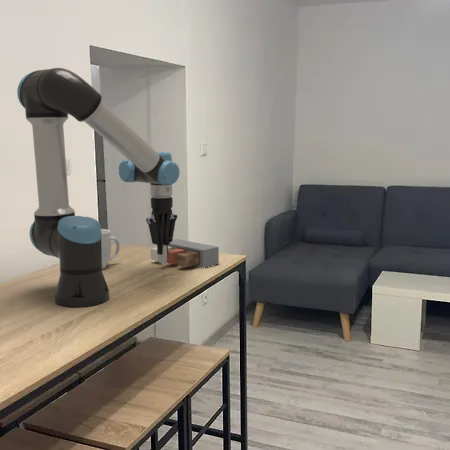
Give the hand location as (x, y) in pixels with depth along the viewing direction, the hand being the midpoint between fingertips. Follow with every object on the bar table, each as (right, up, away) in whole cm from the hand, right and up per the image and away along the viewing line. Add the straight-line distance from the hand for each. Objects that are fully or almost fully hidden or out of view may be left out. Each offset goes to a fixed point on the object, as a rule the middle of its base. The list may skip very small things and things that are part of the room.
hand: (162, 262), depth 196 cm
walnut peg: (+10, -1, +1) cm, 10 cm away
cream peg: (-1, +1, +10) cm, 10 cm away
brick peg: (+4, 0, +5) cm, 7 cm away
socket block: (+9, 0, +10) cm, 13 cm away
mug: (-23, -2, +1) cm, 23 cm away
